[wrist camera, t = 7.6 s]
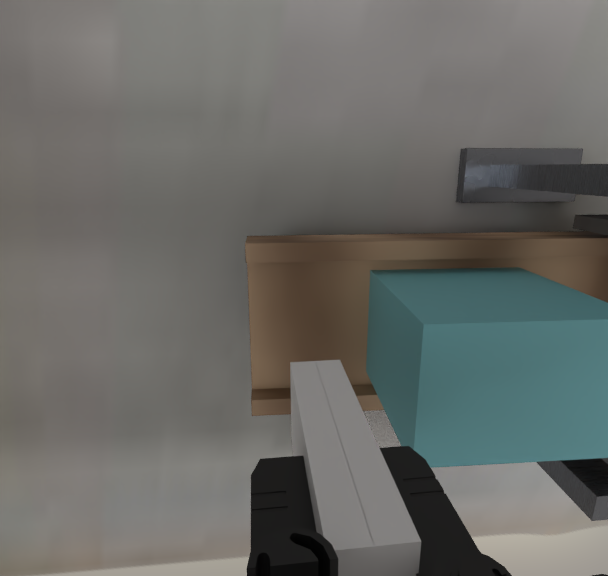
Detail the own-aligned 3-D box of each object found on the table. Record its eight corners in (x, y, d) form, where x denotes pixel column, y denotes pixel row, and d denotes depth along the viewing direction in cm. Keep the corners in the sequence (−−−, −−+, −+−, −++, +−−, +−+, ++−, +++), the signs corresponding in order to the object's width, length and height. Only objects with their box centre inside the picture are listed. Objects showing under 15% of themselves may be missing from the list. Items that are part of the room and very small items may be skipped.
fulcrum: (438, 395, 29) (554, 541, 18) (461, 148, 25) (633, 133, 14) (535, 389, 30) (706, 527, 19) (573, 149, 26) (827, 135, 14)
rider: (366, 371, 21) (412, 468, 14) (370, 270, 19) (423, 324, 13) (505, 365, 21) (614, 457, 15) (519, 267, 20) (645, 318, 13)
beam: (256, 371, 27) (249, 508, 16) (250, 198, 24) (236, 225, 13) (728, 353, 29) (997, 462, 19) (774, 194, 27) (1123, 214, 16)
